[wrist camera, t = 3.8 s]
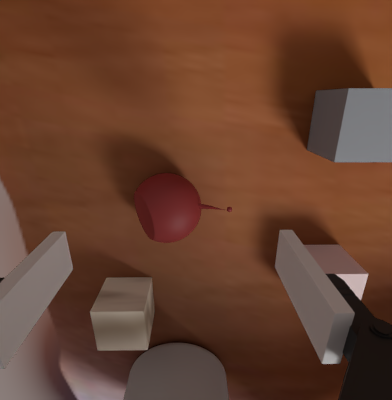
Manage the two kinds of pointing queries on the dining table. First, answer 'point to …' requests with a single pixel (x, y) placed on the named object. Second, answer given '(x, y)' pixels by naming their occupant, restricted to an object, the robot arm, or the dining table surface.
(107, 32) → the dining table surface
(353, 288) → the dusty rose block
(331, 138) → the slate grey block
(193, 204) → the fruit
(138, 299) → the birch block
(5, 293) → the robot arm
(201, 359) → the cylinder vase
